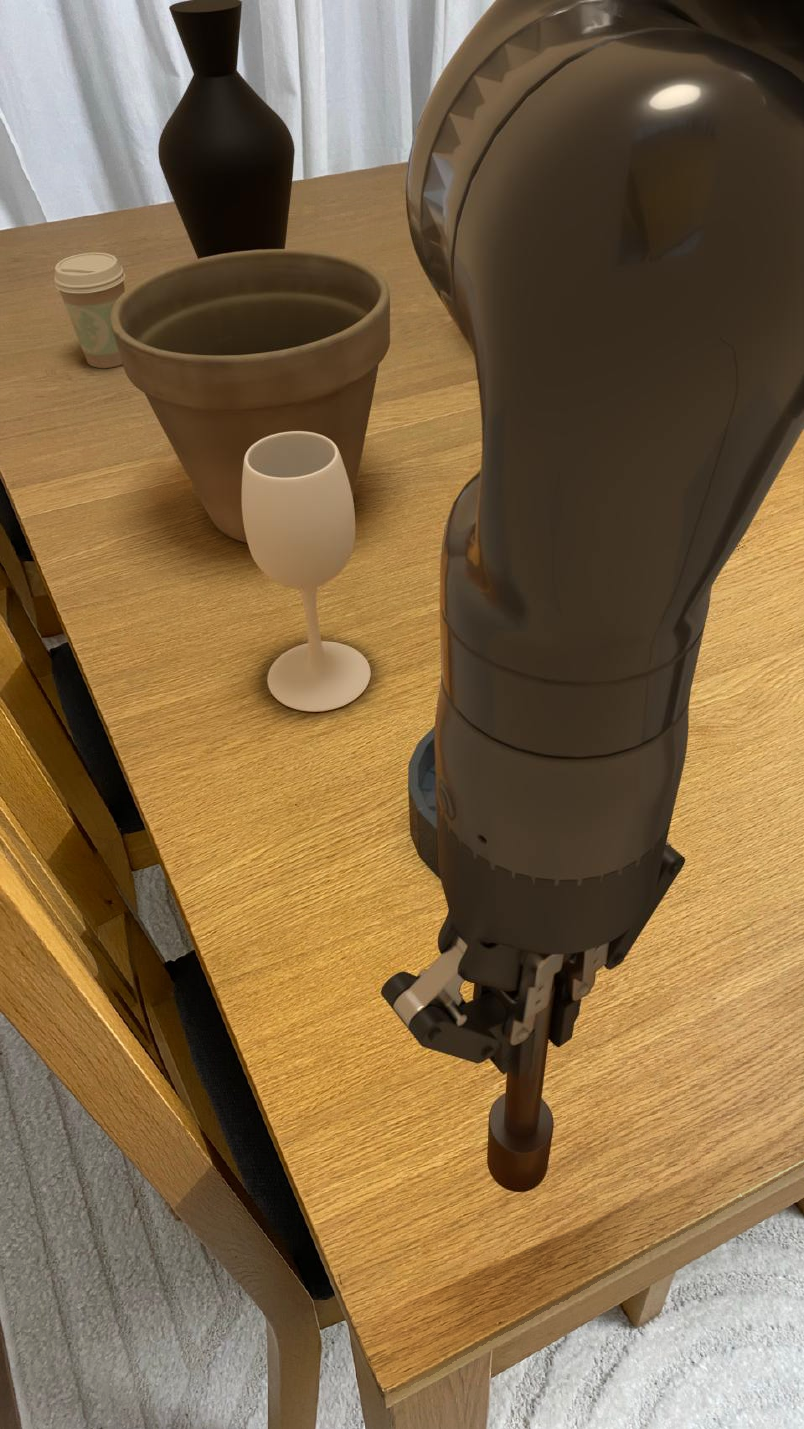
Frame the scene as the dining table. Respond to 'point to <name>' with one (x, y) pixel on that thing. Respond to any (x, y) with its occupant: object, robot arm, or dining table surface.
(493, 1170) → the muddler
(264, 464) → the wineglass
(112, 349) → the coffee cup
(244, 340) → the flower pot
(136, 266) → the dining table surface
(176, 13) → the vase
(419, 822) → the bowl
